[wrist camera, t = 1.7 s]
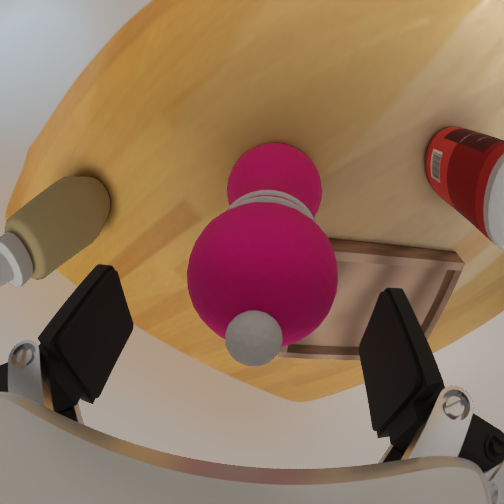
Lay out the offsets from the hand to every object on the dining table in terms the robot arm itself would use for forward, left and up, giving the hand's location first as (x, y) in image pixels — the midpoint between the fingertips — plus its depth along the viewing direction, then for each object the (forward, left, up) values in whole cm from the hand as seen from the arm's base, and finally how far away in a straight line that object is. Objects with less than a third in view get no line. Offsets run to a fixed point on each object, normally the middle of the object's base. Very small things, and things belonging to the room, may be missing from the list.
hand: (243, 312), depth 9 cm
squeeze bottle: (+21, +3, -18) cm, 28 cm away
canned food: (-18, -4, -18) cm, 26 cm away
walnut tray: (-12, +14, -18) cm, 26 cm away
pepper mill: (0, 0, -18) cm, 18 cm away
